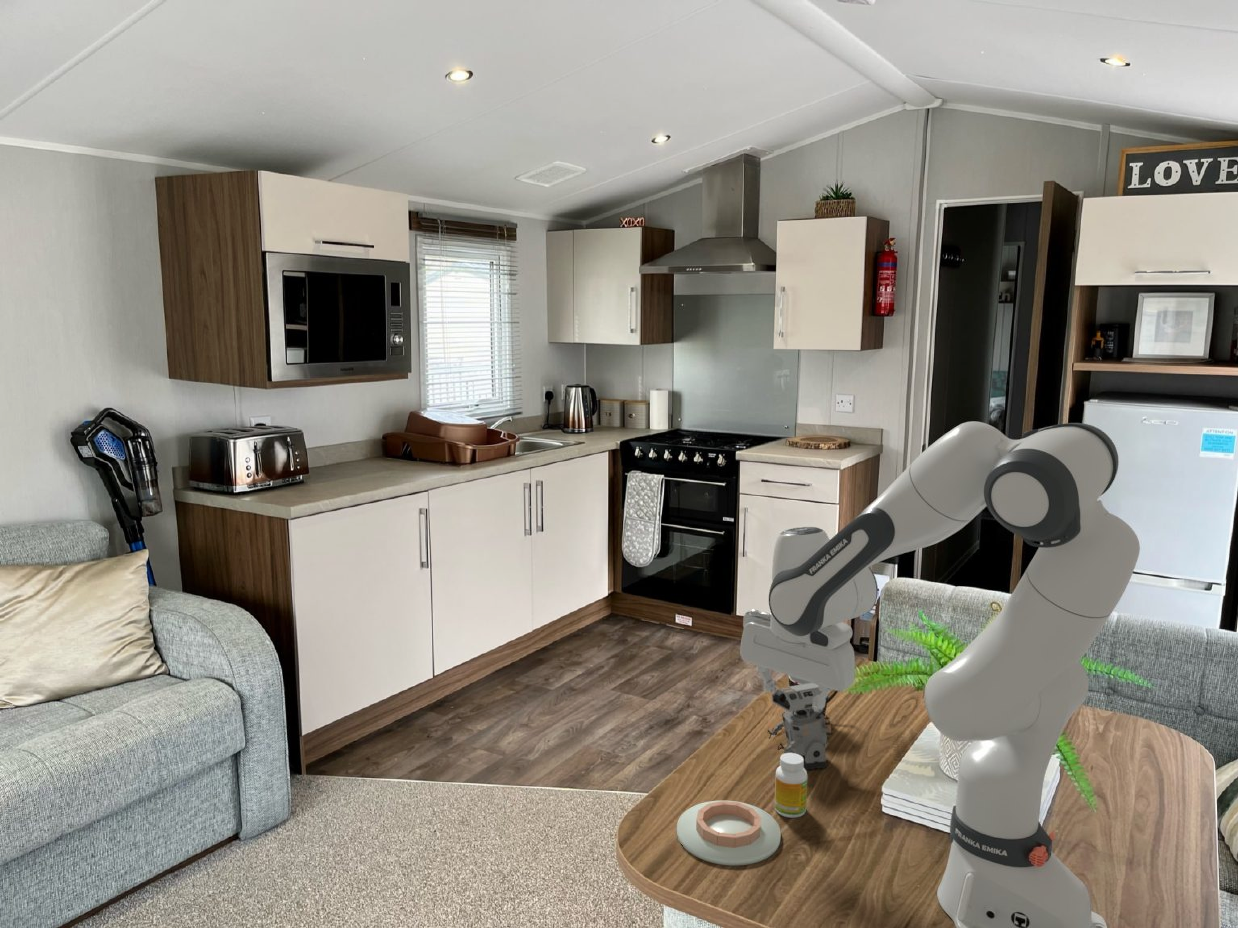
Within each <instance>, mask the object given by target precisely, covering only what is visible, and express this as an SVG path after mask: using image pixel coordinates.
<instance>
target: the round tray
mask: <svg viewBox="0 0 1238 928" xmlns="http://www.w3.org/2000/svg"><path fill="white" fill-rule="evenodd" d="M781 835H782V834H781V828H780V825H779V823H778V821H776V818H774V817H773V816H772V815H771V814H769V812H766V810H763V809H762V808H760V807H757V806H755V805H753V804H749V803H746V802H743V801H734V800H710V801H705V802H701V803H698V804H695V805H694V806H691V807H689V808H688V809H686V810H685V811H684V812H682V814H681V815H680V816H679V818H678V821H677V823H676V836H678V837H677V839H678V841H679V843H680V845H681V844H682V845H683V846H682V845H681V846H682V847H683V848H684V849H685V850H686V851H687V852H688V853H690V854H691V855H692V856H694V857H696V858H698V859H701V860H703V861H706V862H708V863H711V864H716V865H722V866H732V867H733V866H747V865H753V864H756V863H760V862H761V861H765V860H767V859H768V858H770V857H771V856H772V855H774V854H775V853H776V852H777V850H778V849H779V847H780V845H781V838H782V837H781Z"/></svg>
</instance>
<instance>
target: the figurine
mask: <svg viewBox="0 0 1238 928" xmlns="http://www.w3.org/2000/svg"><path fill="white" fill-rule="evenodd" d="M794 684H795V686H790V687H789V686H785V687H779V688H776V690H775V691H774V692H772V693H771V700H772V701H771V702H772V703H773V704H774V705H776V706H778V707H779V708H781V709H783V710H785V711H783V712H782V714H781V716H782V721H781V722H777V723H776V724H775V727H773V728H772V729H771V731H770V730H769V729H767V733H769V736H768V739H771V737H772V736H777V735H778V733H779V731H782V729H783V728H784V733H785V740H786V745H787V746H786V747H785V746H784V745H783V744H782V742H780V743H779V745H778V746H777V750H778V751H779V750H783V754H785V753H796V754H799V755H800V756H802V757H803V756H804V767H803V768H804V769H805V770H806V771H807V772H808V771H810V770H811V771H813V770H815V769H817V770H820V769H822V770H823V769H825V768H827V767H828V761H827V755H826V748H827V747H828V745H829V742H830V740H829V736H830V735H832V734H833V732H832V726H831V719H830V717H829V716H827V714H826V713H825V714H823V713H821V712H820V711H819V710H818V709H817V708H815V707H812V704H813V702H812V700H813V697H815V696H816V695H820V694H821V693H822V691H819V685H817V684H814V683H808V684H801V685H797V684H798V683H797V682H795V683H794ZM827 697H828V698H829V695H827ZM827 697H826V698H827ZM824 715H825V719H824Z"/></svg>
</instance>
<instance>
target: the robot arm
mask: <svg viewBox="0 0 1238 928" xmlns="http://www.w3.org/2000/svg"><path fill="white" fill-rule="evenodd" d="M1118 470H1119V454H1118V450H1117V447H1116V444H1115V443H1114V441H1113V440H1112V438H1110V435H1108V434H1107V433H1106V432H1104V431H1103V430H1101V429H1100V428H1098V427H1096V426H1093V425H1092V424H1091V425H1090V424H1087V423H1080V422H1069V423H1068V422H1066V423H1060V424H1059V423H1058V424H1053V425H1050V426H1045V427H1042V428H1041V427H1040V428H1037V429H1032V430H1028V431H1025V432H1024V433H1023V435H1022V436H1021V438H1020V439H1013V438H1009V437H1007V436H1006V435H1005V434H1004V433H1003V432H1001V430H999V429H998V428H996V427H995V426H992V425H990V424H988V423H986V422H981V421H974V420H973V421H971V420H970V421H966V422H963V423H960V424H959V425H957V426H955V427H953V428H952V429H951V430H950V431H948V432H946V433H944V434H943V435H942V436H941V437H939V438H938V439H937V440H935V442H933V443H932V444H930V445H929V446H928V447H927V448H926V449H924V451H922V452H921V453H920V454H919V456H917V457H916V458H915V459H914V460H913V461H912V462H911V463H910V464H909V466H907V467H906V468H905V469H904V471H902V473H901V474H899V476H897V478H896V479H895V480H894V481H892V483H890V484H889V486H888V487H887V488H886V489H885V490H884V491H883V492H882V493H881V494H879V496H878V497H877V498H876V499H875V500H873V502H871V503H870V504H869V505H868V506H866V507H865V508H864V510H862V511H861V513H859V515H857V516H856V517H855V518H854V519H853V520H851V521H849V523H848V524H847V525H845V526H844V527H843V528H842V529H841V530H840V531H838V532H837V533H836V534H835V535H834V536H833V537H832V538H830V537H829V536H828V533H826V532H827V531H825V530H824V529H822V528H820V527H815V526H804V527H803V526H802V527H793V528H789V529H786V530H784V531H782V532H781V533H779V534H778V536H777V537H776V538H777V539H776V541H775V546H774V549H773V556H772V569H771V574H772V575H771V579H772V580H771V581H772V582H771V584H770V587H769V592H768V607H769V610H770V613H768V612H763V611H759V610H757V609H751V610H749V611H747V612H746V613H745V614H743V618H742V619H743V621H742V622H743V623H742V627H743V630H742V635H741V642H740V648H739V655H740V657H741V659H742V661H744V662H745V663H750V664H751V665H755V666H757V671H758V674H759V675H760V677H761V680H762V682H763V691H764V692H767V693H771V694H773V693H774V692H775V691H776V690H777V680H775V679H773V677H772V674H771V671H774V672H777V673H781V674H784V675H787V676H792V677H795V678H799V679H802V680H805V681H808V682H811V683H814V684H817V685H819V691H822V693H821V694H820V695H816V696H815V697H813V700H812V702H813V704H812V707H815V708H817V709H820V710H821V709H823V708H824V707H825V699H826V697H827V695H828V694H831V692H832V690H833V691H835V690H836V691H838V692H841V693H842V692H844V691H845V690H847V689H849V688H850V687H851V686H852V685H853V684H854V682H855V674H856V658H855V657H856V656H855V650H854V647H853V646H852V644H851V643H850V641H849V640H851V639H852V637H853V629H852V627H851V626H850V625H848V624H847V623H845V621H849V620H852V619H855V618H858V617H861V616H864V615H865V614H867V613H870V612H871V611H872V610H873V608H874V607H875V605H876V602H877V601H878V600H877V599H878V595H879V594H878V591H879V588H878V582H877V578H876V576H875V574H874V572H873V571H872V569H871V568H870V567H872V566H873V565H876V564H877V563H880V562H882V561H885V560H887V559H889V558H893V557H896V556H899V555H903V554H905V553H910V552H913V551H916V550H920V549H925V548H927V547H930V546H932V545H935V544H938V543H940V542H943V541H945V540H946V539H947V538H949V537H951V536H952V535H954V534H956V533H957V532H959V531H960V530H962V529H963V528H964V527H965V526H966V525H968V524H969V523H971V522H972V520H974V518H975V517H976V516H978V515H979V514H980V513H981V512H983V510H985V508H987V510H988V511H989V512H990V514H991V515H992V516H993V518H994V520H996V521H997V522H998V523H999V524H1000V525H1001V526H1002V527H1004V528H1005V529H1007V531H1009V532H1011V533H1013V534H1015V535H1017V536H1019V537H1020V538H1021V539H1022V540H1023V541H1024V542H1025V543H1026V544H1027V545H1029V546H1032V547H1035V548H1038V549H1037V550H1036V552H1035V554H1034V556H1032V557H1033V558H1032V559H1031V561H1030V562H1029V564H1028V566H1027V568H1026V569H1025V571H1024V573H1023V575H1022V576H1021V578H1020V580H1019V581H1018V583H1017V584H1016V587H1015V589H1013V592H1012V593H1011V595H1010V596H1009V599H1008V600H1007V602H1006V604H1005V605H1004V606H1003V608H1002V609H1001V610H1000V612H999V613H997V615H996V617H994V618H993V619H992V620H991V622H990V623H988V625H987V626H986V627H985V628H984V629H983V630H982V631H981V632H980V633H979V634H978V635H977V636H976V637H975V638H974V639H973V640H972V641H971V642H970V643H969V644H968V645H967V646H966V647H965V648H964V649H963V650H962V651H961V653H959V654H958V655H957V656H956V657H955V658H953V660H952V661H949V663H947V664H946V665H944V666H943V667H942V668H940V669H938V670H937V671H936V672H935V673H933V674H932V675H930V677H929V679H928V680H927V682H926V685H925V687H924V697H923V698H924V705H925V710H926V713H927V715H928V717H929V719H930V722H931V723H932V725H933V726H934V727H935V728H936V729H937V730H938V732H940V733H941V734H942V735H943V736H944V737H945V738H948V739H950V740H953V741H955V742H971V743H970V744H969V745H968V746H967V747H966V749H965V750H964V751H963V753H962V755H961V757H960V759H959V763H958V770H957V771H958V772H957V785H956V786H957V787H956V799H955V805H953V806H952V811H951V815H950V823H949V834H950V835H949V841H950V843H951V845H950V850H949V856H948V861H947V864H946V868H945V871H944V873H943V877H942V879H941V882H940V884H939V885H938V888H937V892H936V893H937V894H936V895H937V900H938V902H939V904H940V906H941V908H942V909H943V911H944V912H945V914H947V915H948V916H949V917H950V919H951V920H952V921H953V923H954V926H955V928H1108V926H1107V925H1108V924H1107V923H1106V921H1105V919H1104V917H1103V916H1101V914H1099V913H1097V912H1094V911H1093V910H1092V902H1091V898H1090V894H1089V891H1088V888H1087V886H1086V884H1084V882H1083V881H1082V880H1081V879H1080V878H1078V877H1077V876H1076V874H1074V873H1073V872H1072V871H1071V870H1070V869H1069V868H1068V867H1067V866H1066V865H1065V864H1064V863H1063V862H1062V861H1061V860H1060V859H1059V858H1058V857H1057V856H1056V855H1055V854H1054V853H1053V852H1052V851H1053V842H1054V839H1055V834H1056V833H1055V829H1052V830H1051V832H1050V833H1049V834H1048V833H1047V832H1046V830H1045V828H1044V827H1043V826H1042V825H1041V822H1040V814H1041V812H1040V811H1041V803H1042V795H1043V787H1044V781H1045V777H1046V776H1045V775H1046V772H1047V769H1048V767H1049V763H1050V761H1051V759H1052V756H1053V753H1054V751H1055V748H1056V747H1057V744H1058V741H1059V739H1060V737H1061V735H1062V733H1063V731H1064V729H1065V727H1066V725H1067V723H1068V721H1070V719H1071V717H1072V715H1074V714H1075V712H1076V711H1077V710H1078V709H1079V708H1080V706H1081V705H1083V703H1084V702H1085V701H1086V698H1087V697H1088V693H1089V679H1088V674H1087V671H1086V669H1085V667H1084V665H1083V663H1082V661H1081V660H1080V659H1082V658H1083V656H1084V655H1086V652H1087V651H1088V650H1089V648H1090V647H1091V646H1092V644H1093V642H1094V641H1095V640H1096V638H1097V636H1098V634H1099V633H1100V632H1101V630H1102V628H1103V627H1104V625H1105V624H1106V622H1107V621H1108V619H1109V618H1110V616H1112V613H1113V612H1114V610H1115V608H1116V607H1117V605H1118V604H1119V602H1120V600H1121V598H1122V597H1123V594H1124V593H1125V591H1126V589H1127V587H1128V585H1129V583H1130V580H1131V578H1132V576H1133V573H1134V570H1135V568H1136V564H1137V562H1138V559H1139V556H1140V550H1141V547H1140V540H1139V538H1138V536H1137V533H1136V532H1135V531H1134V529H1133V528H1132V527H1131V526H1130V525H1129V524H1128V523H1127V522H1126V521H1124V520H1123V519H1121V518H1120V517H1118V516H1116V515H1115V514H1113V513H1111V512H1109V511H1108V510H1107V509H1106V507H1105V506H1104V504H1103V502H1102V500H1101V499H1099V497H1101V496H1102V495H1104V494H1106V492H1107V491H1108V490H1109V489H1110V487H1111V486H1112V485H1113V483H1114V481H1115V479H1116V476H1117V473H1118ZM1035 542H1037V543H1035ZM1038 543H1039V544H1038ZM828 696H829V695H828Z"/></svg>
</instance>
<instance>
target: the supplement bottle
mask: <svg viewBox="0 0 1238 928" xmlns="http://www.w3.org/2000/svg"><path fill="white" fill-rule="evenodd" d="M779 759H780V760H779V766H778V767H776V770H775V781H774V782H775V783H774V784H775V785H774V810H775V812H776V813H777V814H779V815H780V816H782V817H785V818H792V819H793V818H800V817H802V816H804V815H805V814H806V812H807V799H808V798H807V794H808V773H807V772H808V771H807V769H805V768H804V761H805V758H804V757H803V755H799V754H796V753H794V752H791V753H782V754H781V755H780V757H779Z"/></svg>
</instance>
